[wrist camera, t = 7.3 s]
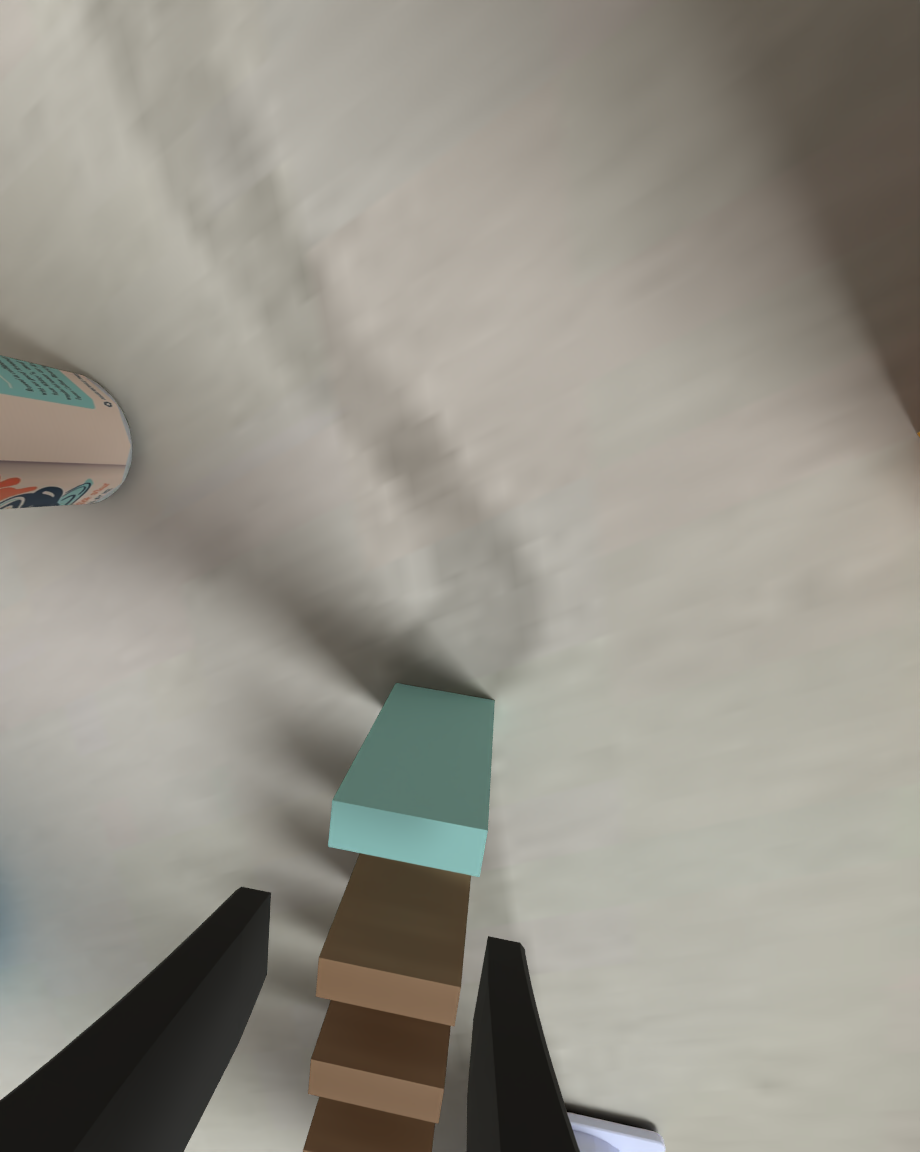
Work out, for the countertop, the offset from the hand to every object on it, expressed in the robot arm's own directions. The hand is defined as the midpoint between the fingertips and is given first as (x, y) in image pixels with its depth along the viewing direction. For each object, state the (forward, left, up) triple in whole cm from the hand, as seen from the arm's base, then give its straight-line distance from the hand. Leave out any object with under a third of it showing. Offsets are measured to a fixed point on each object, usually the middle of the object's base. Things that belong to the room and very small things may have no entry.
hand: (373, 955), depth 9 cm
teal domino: (0, 0, -10) cm, 10 cm away
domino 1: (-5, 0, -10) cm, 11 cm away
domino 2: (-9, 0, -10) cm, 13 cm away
